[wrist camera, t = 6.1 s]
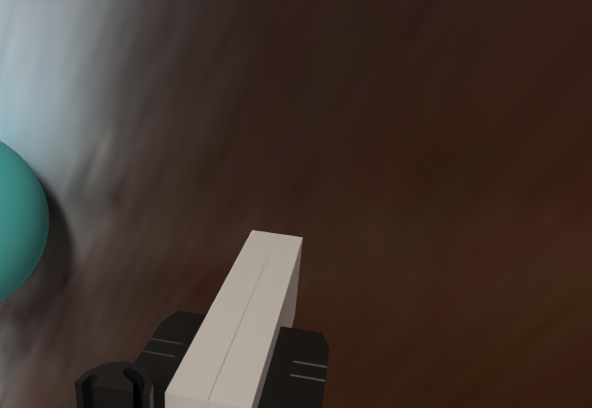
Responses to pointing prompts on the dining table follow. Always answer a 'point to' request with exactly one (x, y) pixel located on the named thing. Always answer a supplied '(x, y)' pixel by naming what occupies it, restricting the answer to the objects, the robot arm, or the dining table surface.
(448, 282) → the dining table surface
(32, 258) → the ball
